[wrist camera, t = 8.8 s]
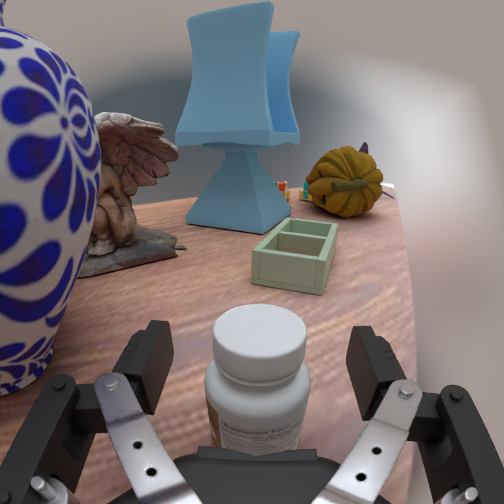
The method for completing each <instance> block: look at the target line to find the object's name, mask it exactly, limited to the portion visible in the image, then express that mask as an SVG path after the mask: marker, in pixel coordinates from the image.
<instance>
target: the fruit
mask: <svg viewBox="0 0 504 504" xmlns="http://www.w3.org/2000/svg"><path fill="white" fill-rule="evenodd" d="M382 181H383V174H382V173H381V171H380V170H379V169H376V163H375V161H374V159H373V158H372V156H370V155H368V154H366V153H363V152H357V151H356V150H355V149H354V148H353V147H351V146H346V147H342V148H340V149H339V150H338V149H335V150H330V151H329V152H328V153H326V154H325V155H324V156H323V157H322V158H320V160H319V161H318V162H317V163H316V164H315V166H314V167H313V169H312V171H311V172H310V174H309V175H308V176H307V177H306V182H307V184H309V186H308V187H307V192H308V193H309V194H310V195H312V201H313V203H314V204H315V205H316V206H317V207H319V206H321V207H322V208H324V209H326V210H327V211H329V212H331V213H335V214H337V215H339V216H342V217H344V218H348V217H350V216H356V215H359V214H360V213H362V212H366V211H369V210H370V209H372V207H373V206H374V203H375V202H376V201H377V200H378V199H379V197H380V196H381V195H382V186H381V185H380V183H381V182H382Z"/></svg>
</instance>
